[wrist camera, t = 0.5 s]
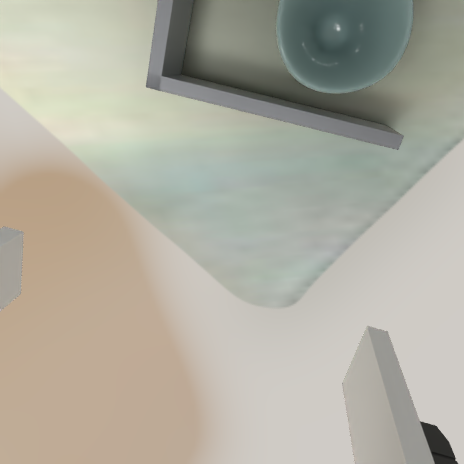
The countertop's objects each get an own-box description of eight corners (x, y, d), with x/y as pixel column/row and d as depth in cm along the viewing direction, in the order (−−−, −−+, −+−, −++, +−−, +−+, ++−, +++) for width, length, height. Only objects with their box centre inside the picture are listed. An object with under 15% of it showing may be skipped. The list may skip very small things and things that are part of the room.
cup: (382, -29, 32) (419, -69, 22) (379, 82, 34) (412, 88, 25) (276, -15, 33) (270, -47, 24) (282, 92, 36) (279, 100, 26)
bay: (196, -99, 32) (176, -134, 26) (444, -41, 31) (478, -65, 25) (167, 84, 36) (145, 87, 31) (381, 136, 36) (398, 149, 30)
